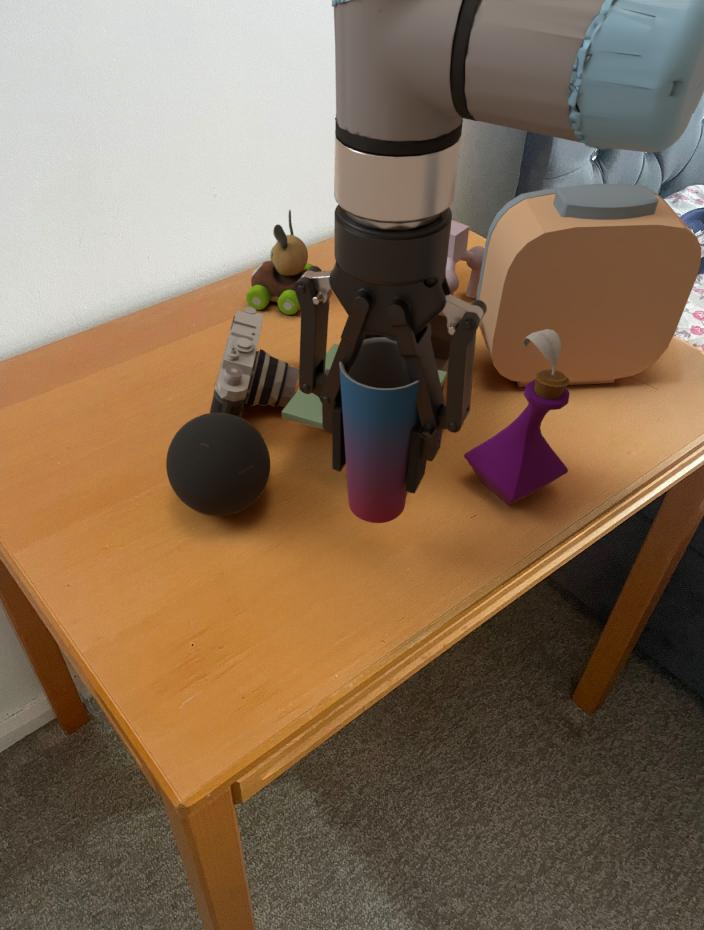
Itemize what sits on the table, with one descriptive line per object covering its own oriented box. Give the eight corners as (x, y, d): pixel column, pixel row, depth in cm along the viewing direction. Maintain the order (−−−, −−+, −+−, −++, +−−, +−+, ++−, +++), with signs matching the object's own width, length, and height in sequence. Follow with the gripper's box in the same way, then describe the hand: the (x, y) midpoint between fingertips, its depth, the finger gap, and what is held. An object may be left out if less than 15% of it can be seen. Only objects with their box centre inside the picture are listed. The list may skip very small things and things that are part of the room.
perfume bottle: (562, 493, 77) (610, 344, 64) (506, 522, 74) (546, 372, 61) (512, 452, 82) (548, 304, 69) (458, 478, 79) (485, 329, 66)
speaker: (190, 462, 81) (177, 386, 73) (281, 472, 79) (277, 397, 72) (161, 530, 74) (143, 454, 67) (260, 543, 73) (253, 467, 65)
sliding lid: (446, 378, 79) (450, 352, 77) (404, 453, 71) (407, 427, 69) (333, 349, 83) (334, 324, 81) (281, 417, 75) (280, 392, 73)
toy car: (264, 275, 108) (259, 198, 100) (323, 284, 106) (323, 206, 98) (241, 308, 102) (234, 229, 94) (304, 318, 100) (302, 238, 92)
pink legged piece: (329, 278, 107) (329, 182, 97) (376, 251, 113) (381, 157, 103) (443, 330, 98) (457, 230, 88) (489, 298, 103) (507, 200, 94)
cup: (330, 523, 66) (330, 382, 55) (347, 471, 70) (349, 332, 59) (408, 537, 64) (423, 395, 54) (420, 483, 69) (435, 342, 58)
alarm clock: (626, 341, 96) (685, 168, 81) (653, 386, 90) (723, 208, 74) (466, 347, 95) (495, 174, 80) (482, 393, 89) (517, 214, 73)
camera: (278, 463, 83) (301, 393, 76) (201, 443, 81) (217, 371, 74) (291, 377, 94) (312, 309, 87) (223, 359, 92) (239, 289, 85)
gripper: (556, 205, 47) (498, 473, 64) (285, 160, 53) (297, 418, 70) (527, 258, 43) (473, 533, 59) (233, 202, 48) (259, 468, 65)
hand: (378, 470), depth 64 cm, fingers closed on cup, 6 cm apart
